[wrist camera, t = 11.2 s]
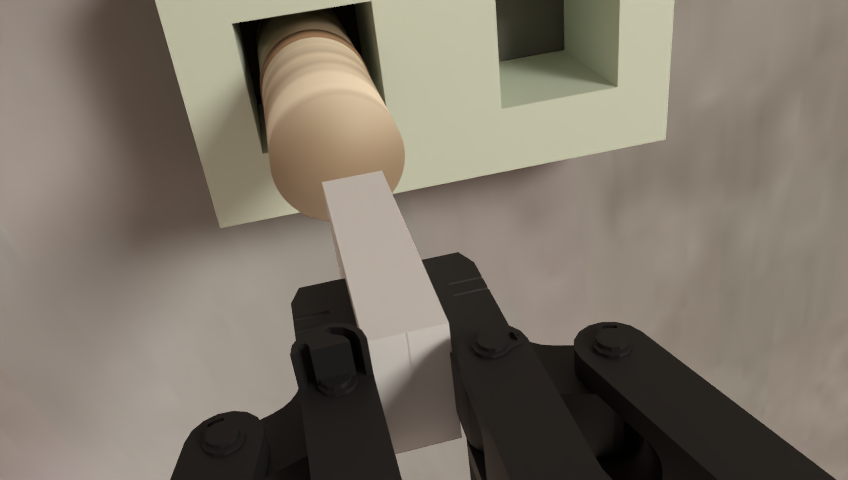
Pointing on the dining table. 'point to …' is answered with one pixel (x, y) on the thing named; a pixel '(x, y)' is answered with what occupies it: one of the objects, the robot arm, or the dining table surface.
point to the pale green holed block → (432, 89)
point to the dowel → (321, 110)
